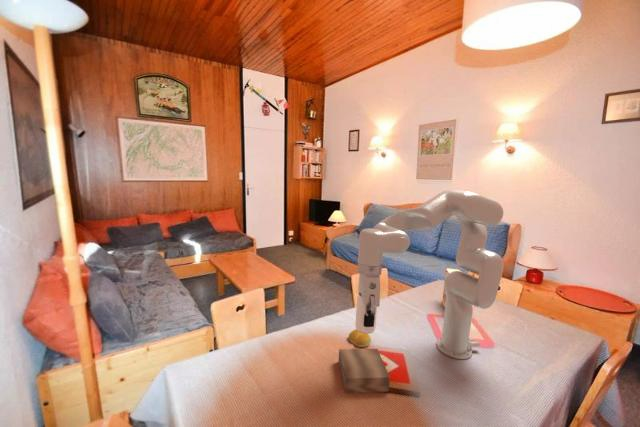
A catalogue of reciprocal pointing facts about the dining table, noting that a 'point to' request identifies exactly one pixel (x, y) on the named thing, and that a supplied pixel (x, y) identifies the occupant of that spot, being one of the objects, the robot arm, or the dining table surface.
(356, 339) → the bread roll
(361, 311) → the can
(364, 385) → the block
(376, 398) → the dining table surface
